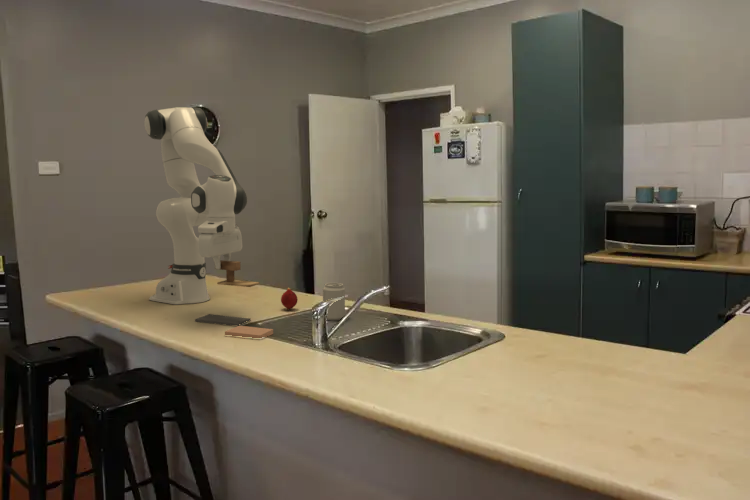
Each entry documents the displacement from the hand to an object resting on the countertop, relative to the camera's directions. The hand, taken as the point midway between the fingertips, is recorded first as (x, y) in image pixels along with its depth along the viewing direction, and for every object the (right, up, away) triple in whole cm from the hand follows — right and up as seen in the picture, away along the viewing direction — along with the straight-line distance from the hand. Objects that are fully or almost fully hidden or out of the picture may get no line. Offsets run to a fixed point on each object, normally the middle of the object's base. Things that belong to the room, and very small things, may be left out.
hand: (222, 267), depth 211 cm
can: (+36, -18, +8) cm, 41 cm away
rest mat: (0, -18, +2) cm, 18 cm away
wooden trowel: (+5, -5, -1) cm, 7 cm away
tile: (+6, -19, -13) cm, 24 cm away
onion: (+19, -16, +21) cm, 32 cm away
